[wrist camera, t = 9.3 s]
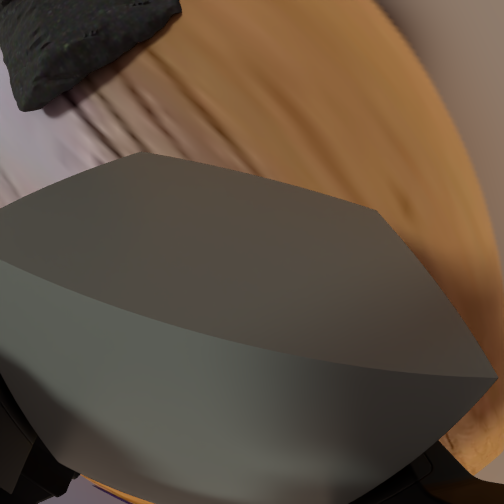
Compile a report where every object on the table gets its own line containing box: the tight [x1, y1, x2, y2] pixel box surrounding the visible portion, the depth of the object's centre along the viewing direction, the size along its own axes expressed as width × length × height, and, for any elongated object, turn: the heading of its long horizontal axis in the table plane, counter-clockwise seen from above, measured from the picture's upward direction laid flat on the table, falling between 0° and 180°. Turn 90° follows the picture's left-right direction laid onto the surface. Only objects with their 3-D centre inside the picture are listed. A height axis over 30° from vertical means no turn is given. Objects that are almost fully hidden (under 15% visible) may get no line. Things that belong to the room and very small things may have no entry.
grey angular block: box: [0, 152, 498, 504], centre depth 7 cm, size 8×8×7 cm
